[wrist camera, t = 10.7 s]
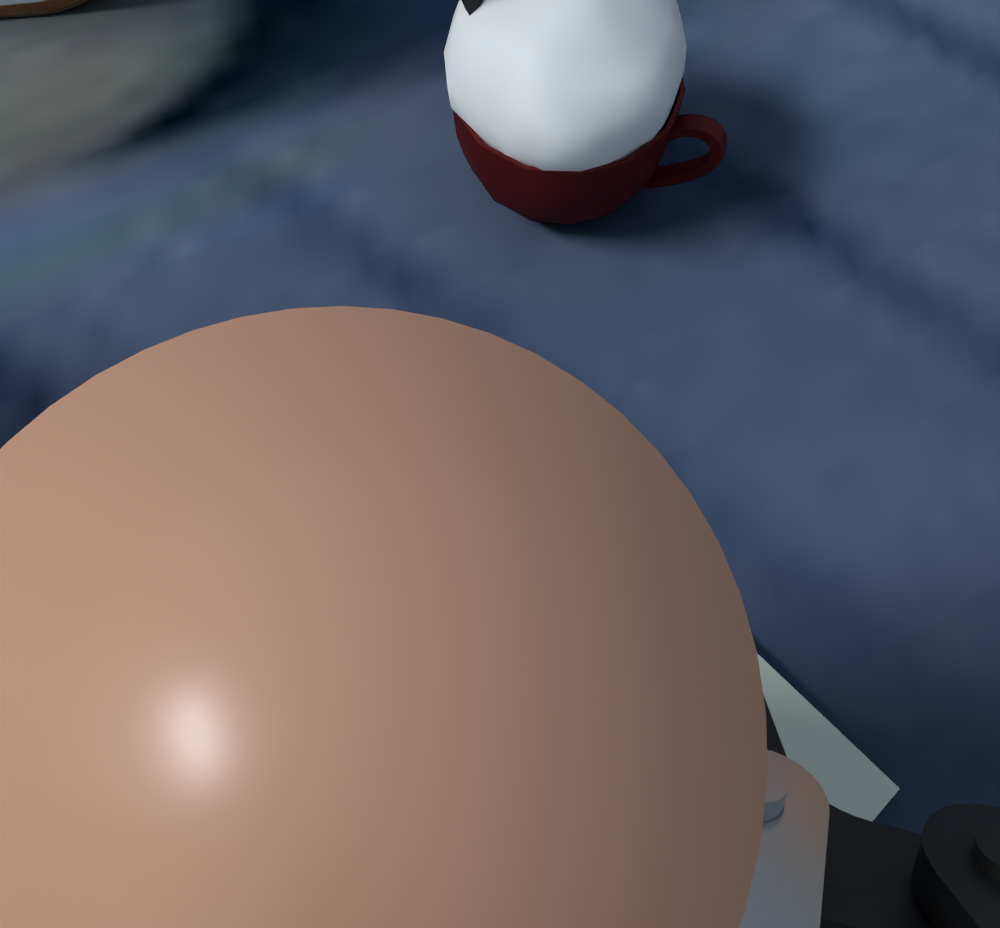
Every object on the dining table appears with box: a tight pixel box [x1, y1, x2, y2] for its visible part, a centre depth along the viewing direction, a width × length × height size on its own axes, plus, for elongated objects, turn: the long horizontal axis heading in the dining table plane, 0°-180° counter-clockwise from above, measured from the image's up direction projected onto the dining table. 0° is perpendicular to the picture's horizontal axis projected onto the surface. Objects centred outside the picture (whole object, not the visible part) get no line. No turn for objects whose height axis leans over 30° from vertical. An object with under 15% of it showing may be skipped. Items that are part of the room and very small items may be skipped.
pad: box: [757, 653, 900, 821], centre depth 20 cm, size 14×14×1 cm
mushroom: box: [0, 306, 767, 928], centre depth 11 cm, size 5×5×13 cm
